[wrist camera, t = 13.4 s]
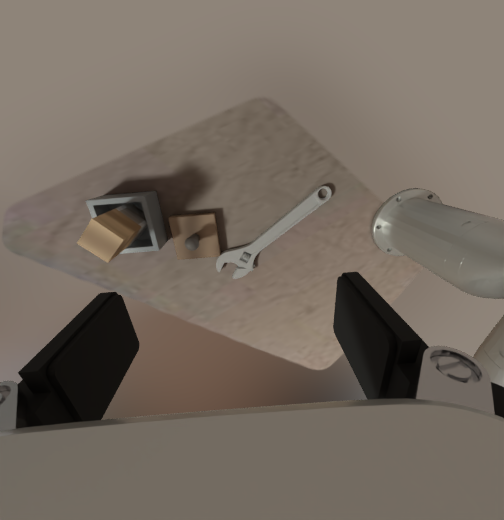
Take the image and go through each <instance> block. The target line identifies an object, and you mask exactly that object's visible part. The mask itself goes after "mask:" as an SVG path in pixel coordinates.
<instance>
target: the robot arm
mask: <svg viewBox="0 0 504 520" xmlns="http://www.w3.org/2000/svg"><path fill="white" fill-rule="evenodd" d="M372 237H373V240H374V242H375V244H376V245H377V246H378V248H380V249H381V250H382V251H384V252H385V253H387V254H390V255H393V256H405V255H406V256H407V257H409V258H410V259H412V260H414V261H415V262H417V263H418V264H420V265H421V266H423V267H425V268H426V269H428V270H429V271H431V272H433V273H434V274H436V275H437V276H439V277H440V278H442V279H443V280H445V281H447V282H449V283H450V284H452V285H453V286H455V287H456V288H458V289H460V290H461V291H463V292H465V293H468V294H470V295H473V296H477V297H482V298H492V299H504V220H501V219H498V218H494V217H490V216H486V215H482V214H478V213H474V212H470V211H466V210H462V209H459V208H455V207H451V206H447V205H443V204H442V202H441V200H440V199H439V197H438V196H436V194H435V193H433V192H431V191H428V190H425V189H418V188H414V189H407V190H403V191H401V192H399V193H397V194H395V195H393V196H392V197H390V198H389V199H388V200H387V201H386V202H385V203H384V204H383V205H382V206H381V207H380V208H379V210H378V212H377V213H376V215H375V218H374V220H373V224H372ZM333 328H334V333H335V335H336V337H337V339H338V341H339V343H340V345H341V347H342V349H343V351H344V353H345V355H346V357H347V359H348V361H349V363H350V365H351V367H352V369H353V371H354V373H355V375H356V377H357V379H358V381H359V383H360V385H361V387H362V389H363V391H364V393H365V395H366V397H367V399H368V400H351V401H334V402H319V403H306V404H293V405H279V406H266V407H253V408H240V409H227V410H215V411H204V412H203V411H202V412H190V413H178V414H167V415H154V416H143V417H131V418H119V419H107V420H101V419H102V417H103V415H104V413H105V411H106V410H107V408H108V406H109V404H110V402H111V400H112V398H113V397H114V395H115V393H116V391H117V389H118V387H119V385H120V383H121V382H122V380H123V377H124V376H125V374H126V372H127V370H128V369H129V367H130V365H131V363H132V361H133V359H134V357H135V355H136V354H137V352H138V350H139V341H138V338H137V336H136V333H135V330H134V328H133V325H132V322H131V319H130V317H129V314H128V311H127V309H126V306H125V303H124V300H123V298H122V296H121V295H118V294H117V293H116V292H108V293H100V294H99V295H98V296H96V298H94V299H93V300H92V301H91V302H90V303H89V304H88V305H87V306H86V307H85V308H84V309H83V310H82V311H81V312H80V313H79V314H78V315H77V316H76V317H75V318H74V319H73V320H72V321H71V322H70V323H69V324H68V325H67V326H66V327H65V328H64V329H63V330H61V332H59V333H58V334H57V335H56V336H55V337H54V338H53V339H52V340H51V341H50V342H49V343H48V344H47V345H46V346H45V347H44V348H43V349H42V350H41V351H40V352H39V353H38V354H37V355H36V356H35V357H34V358H33V359H32V360H31V361H30V362H29V363H28V364H27V365H26V366H24V367H23V368H22V370H21V371H19V372H18V373H19V375H20V376H21V377H22V379H23V380H22V381H21V382H20V383H19V384H17V383H16V382H13V381H4V382H0V520H504V315H503V317H502V318H501V319H500V321H499V322H498V323H497V324H496V326H495V327H494V328H493V330H492V331H491V332H490V333H489V335H488V336H487V337H486V338H485V340H484V341H483V343H482V344H481V345H480V347H479V348H478V350H477V351H476V353H475V354H474V357H471V356H470V355H468V354H466V353H464V352H462V351H459V350H457V349H454V348H450V347H445V346H433V347H428V346H427V345H426V343H425V342H424V341H423V340H422V339H421V338H420V337H419V336H418V335H417V334H416V333H415V332H414V331H413V330H412V328H411V327H410V326H409V325H408V324H407V323H406V322H405V321H404V320H403V319H402V318H401V317H400V316H399V315H398V314H397V313H396V312H395V311H394V310H393V308H392V307H391V306H390V305H389V304H388V303H387V302H386V301H385V300H384V299H383V298H382V297H381V296H380V295H379V294H378V293H377V292H376V291H375V290H374V289H373V288H372V286H371V285H370V284H369V283H368V282H367V281H366V280H365V279H364V278H363V277H362V276H361V275H360V274H359V273H358V272H348V273H343V274H342V276H340V277H338V280H337V291H336V302H335V314H334V325H333Z"/></svg>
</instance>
